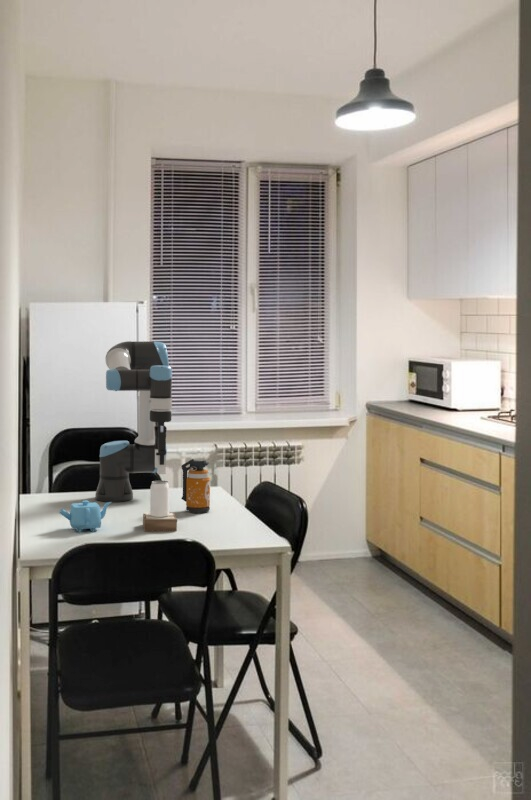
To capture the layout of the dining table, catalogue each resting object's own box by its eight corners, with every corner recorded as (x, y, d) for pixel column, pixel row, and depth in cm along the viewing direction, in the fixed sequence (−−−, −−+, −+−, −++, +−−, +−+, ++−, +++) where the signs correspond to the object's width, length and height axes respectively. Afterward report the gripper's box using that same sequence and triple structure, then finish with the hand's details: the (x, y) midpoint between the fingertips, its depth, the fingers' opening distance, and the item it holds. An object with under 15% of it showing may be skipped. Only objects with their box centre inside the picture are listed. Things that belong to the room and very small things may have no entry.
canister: (206, 514, 340) (206, 461, 339) (177, 512, 342) (178, 460, 341) (212, 509, 349) (212, 458, 347) (184, 508, 351) (185, 457, 350)
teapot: (61, 535, 303) (61, 505, 302) (56, 526, 316) (56, 497, 315) (115, 532, 309) (115, 503, 308) (107, 523, 322) (107, 495, 321)
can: (163, 513, 321) (163, 479, 320) (172, 516, 315) (172, 482, 314) (146, 515, 317) (147, 481, 316) (156, 518, 312) (156, 484, 311)
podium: (142, 524, 321) (143, 512, 320) (173, 524, 323) (174, 512, 322) (144, 531, 310) (144, 519, 310) (176, 531, 312) (176, 518, 312)
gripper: (147, 406, 325) (147, 465, 326) (151, 413, 300) (151, 476, 302) (168, 406, 326) (167, 464, 328) (174, 413, 302) (173, 476, 303)
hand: (160, 470), depth 315 cm, fingers open, 13 cm apart
